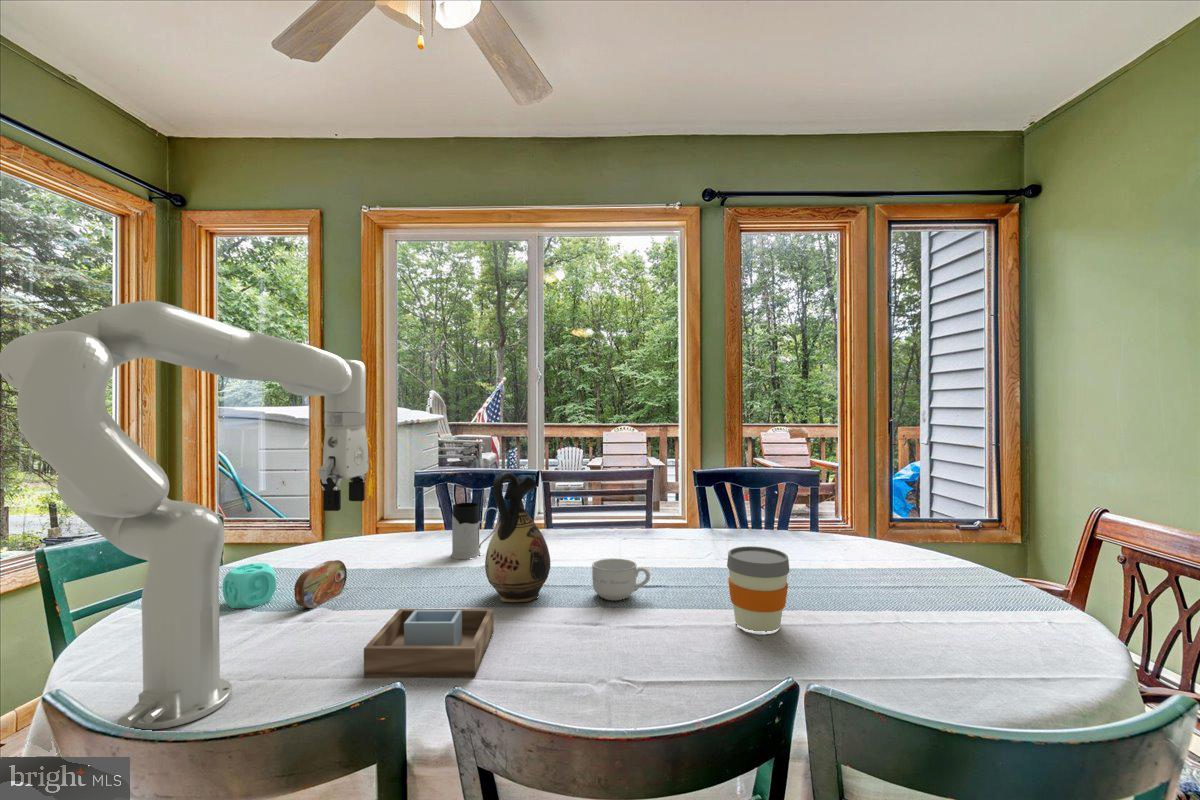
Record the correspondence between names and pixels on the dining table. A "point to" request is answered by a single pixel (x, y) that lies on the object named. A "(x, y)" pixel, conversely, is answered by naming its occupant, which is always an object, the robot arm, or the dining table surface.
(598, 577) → the teacup
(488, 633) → the tray
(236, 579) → the decorative dice
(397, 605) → the dining table surface
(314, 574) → the tin
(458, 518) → the glass holder
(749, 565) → the reusable coffee cup
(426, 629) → the small crate
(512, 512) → the ceramic jug
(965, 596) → the dining table surface
